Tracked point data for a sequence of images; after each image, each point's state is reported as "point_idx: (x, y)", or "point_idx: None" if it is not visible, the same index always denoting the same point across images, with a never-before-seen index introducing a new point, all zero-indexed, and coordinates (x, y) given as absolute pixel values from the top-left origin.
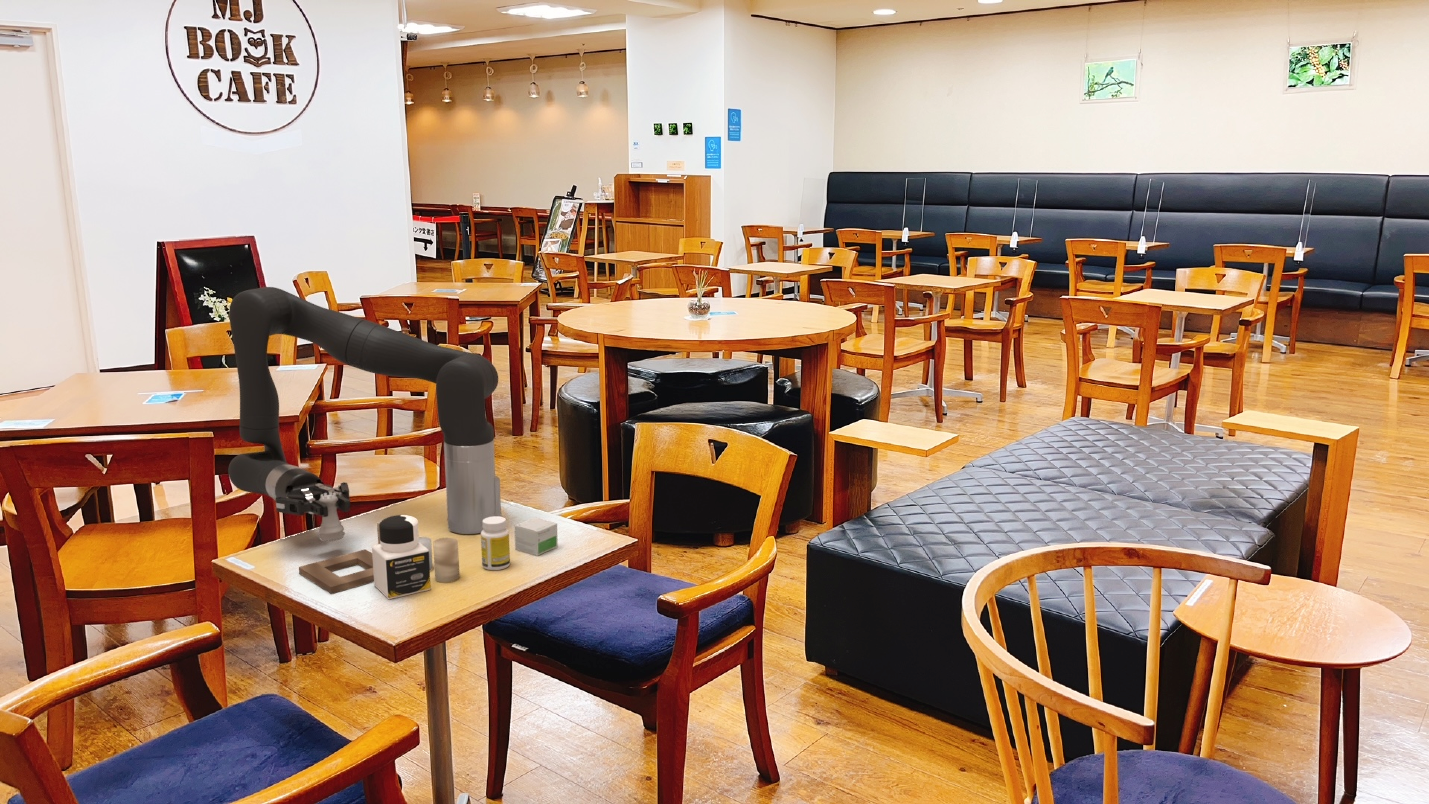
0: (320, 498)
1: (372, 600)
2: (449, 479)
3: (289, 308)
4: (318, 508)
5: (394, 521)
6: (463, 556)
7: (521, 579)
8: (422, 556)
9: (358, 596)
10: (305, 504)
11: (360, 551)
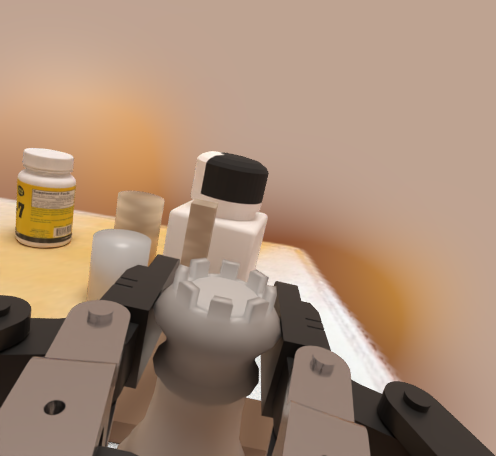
0: (271, 318)
1: None
2: None
3: None
4: (312, 309)
5: (248, 158)
6: (8, 275)
7: (85, 219)
8: None
9: None
10: (367, 389)
11: (132, 417)
